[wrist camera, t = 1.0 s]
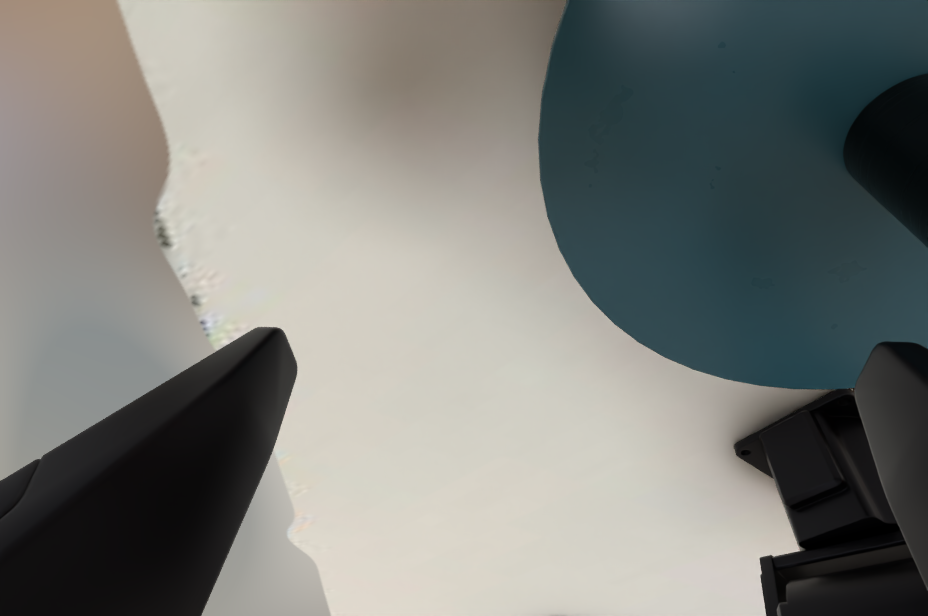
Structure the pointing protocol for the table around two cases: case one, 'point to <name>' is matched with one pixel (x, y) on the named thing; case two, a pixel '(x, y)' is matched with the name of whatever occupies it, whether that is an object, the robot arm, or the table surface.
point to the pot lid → (744, 178)
